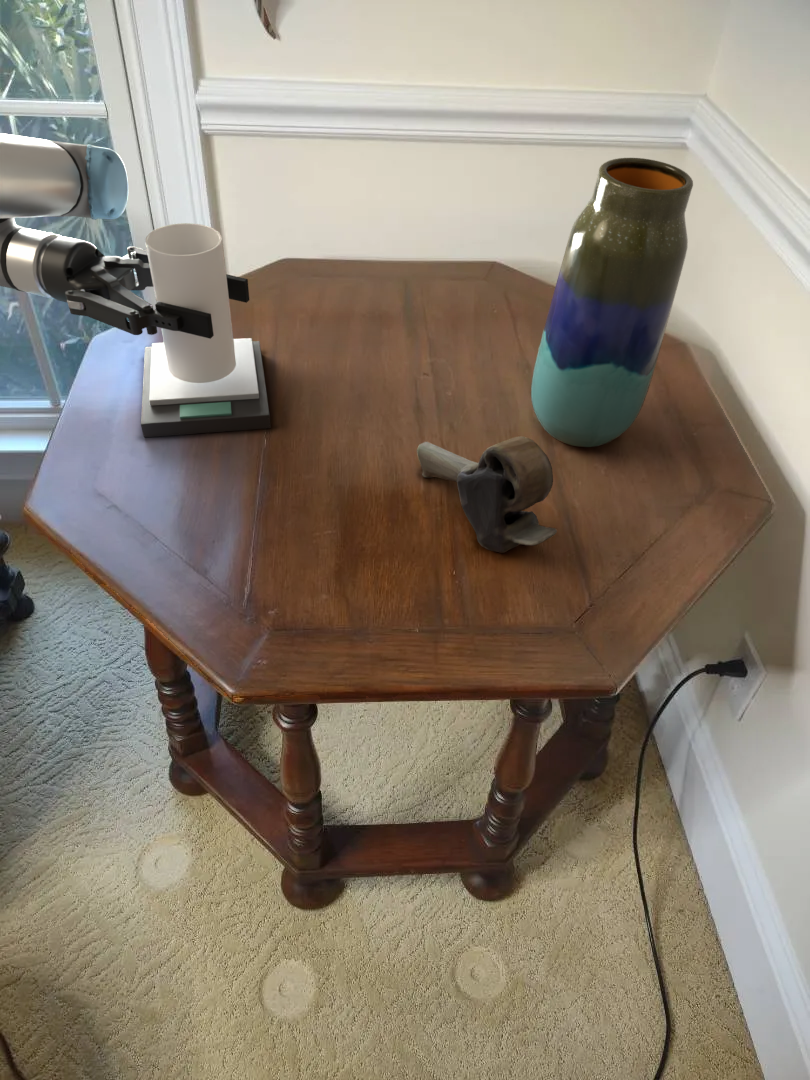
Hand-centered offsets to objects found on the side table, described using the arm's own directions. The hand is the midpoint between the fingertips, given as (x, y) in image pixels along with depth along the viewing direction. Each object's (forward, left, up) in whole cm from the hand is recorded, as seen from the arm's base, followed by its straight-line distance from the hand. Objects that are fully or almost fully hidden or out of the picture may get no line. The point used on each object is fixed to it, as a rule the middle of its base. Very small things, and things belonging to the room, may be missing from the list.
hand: (229, 308), depth 88 cm
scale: (-4, +2, -13) cm, 14 cm away
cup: (-4, +2, -9) cm, 10 cm away
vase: (+42, -11, -13) cm, 45 cm away
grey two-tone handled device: (+25, -25, -13) cm, 37 cm away
